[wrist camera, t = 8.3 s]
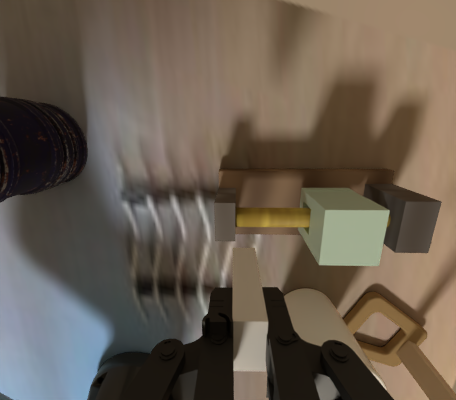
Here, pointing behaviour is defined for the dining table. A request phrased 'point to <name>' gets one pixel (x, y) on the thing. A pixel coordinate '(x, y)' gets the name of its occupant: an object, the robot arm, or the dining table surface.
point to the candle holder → (322, 322)
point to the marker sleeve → (343, 227)
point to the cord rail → (291, 188)
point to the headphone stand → (400, 345)
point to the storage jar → (37, 147)
